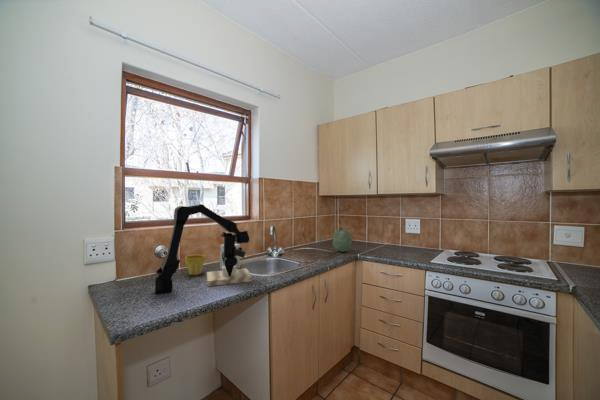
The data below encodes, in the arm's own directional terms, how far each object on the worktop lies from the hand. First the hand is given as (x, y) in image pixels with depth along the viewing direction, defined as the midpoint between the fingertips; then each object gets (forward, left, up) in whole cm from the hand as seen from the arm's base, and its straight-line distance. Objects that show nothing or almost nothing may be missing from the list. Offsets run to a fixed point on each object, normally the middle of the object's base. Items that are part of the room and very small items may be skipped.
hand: (228, 273), depth 130 cm
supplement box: (+3, +20, -3) cm, 20 cm away
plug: (0, 0, -3) cm, 3 cm away
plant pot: (-17, +16, -3) cm, 24 cm away
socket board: (0, 0, -3) cm, 3 cm away
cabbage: (+97, +40, -3) cm, 105 cm away
